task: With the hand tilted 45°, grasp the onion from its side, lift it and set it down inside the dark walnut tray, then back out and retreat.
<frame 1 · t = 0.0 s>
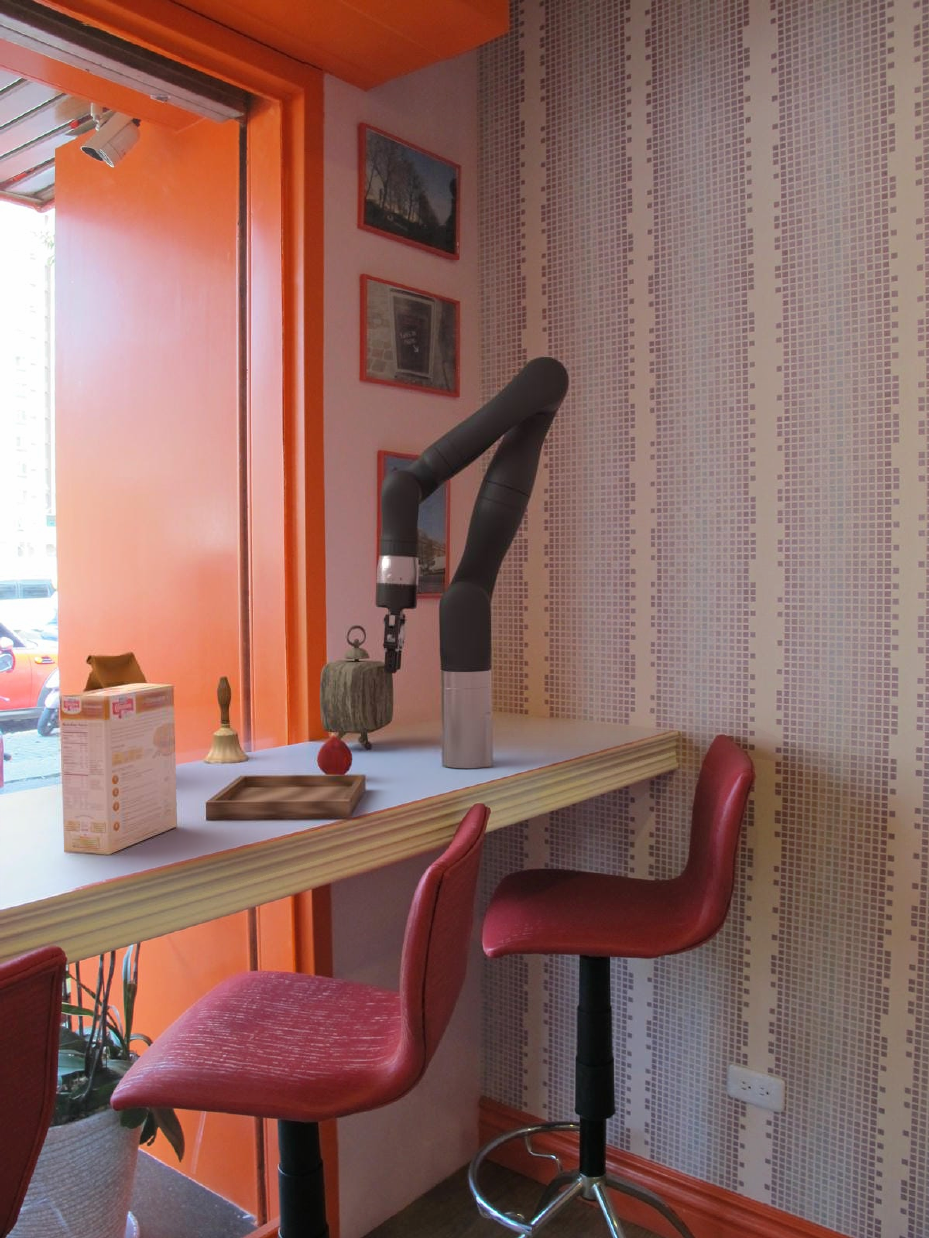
hand: (392, 671, 178), 17 cm above the bar counter, tool pointing down, fingers open, 8 cm apart
tabletop clock: (359, 749, 198), on the bar counter
walnut tray: (291, 803, 146), on the bar counter
onion: (335, 781, 164), on the bar counter
hand bell: (226, 761, 187), on the bar counter
coffee package: (113, 785, 164), on the bar counter
coffeecake box: (123, 840, 127), on the bar counter
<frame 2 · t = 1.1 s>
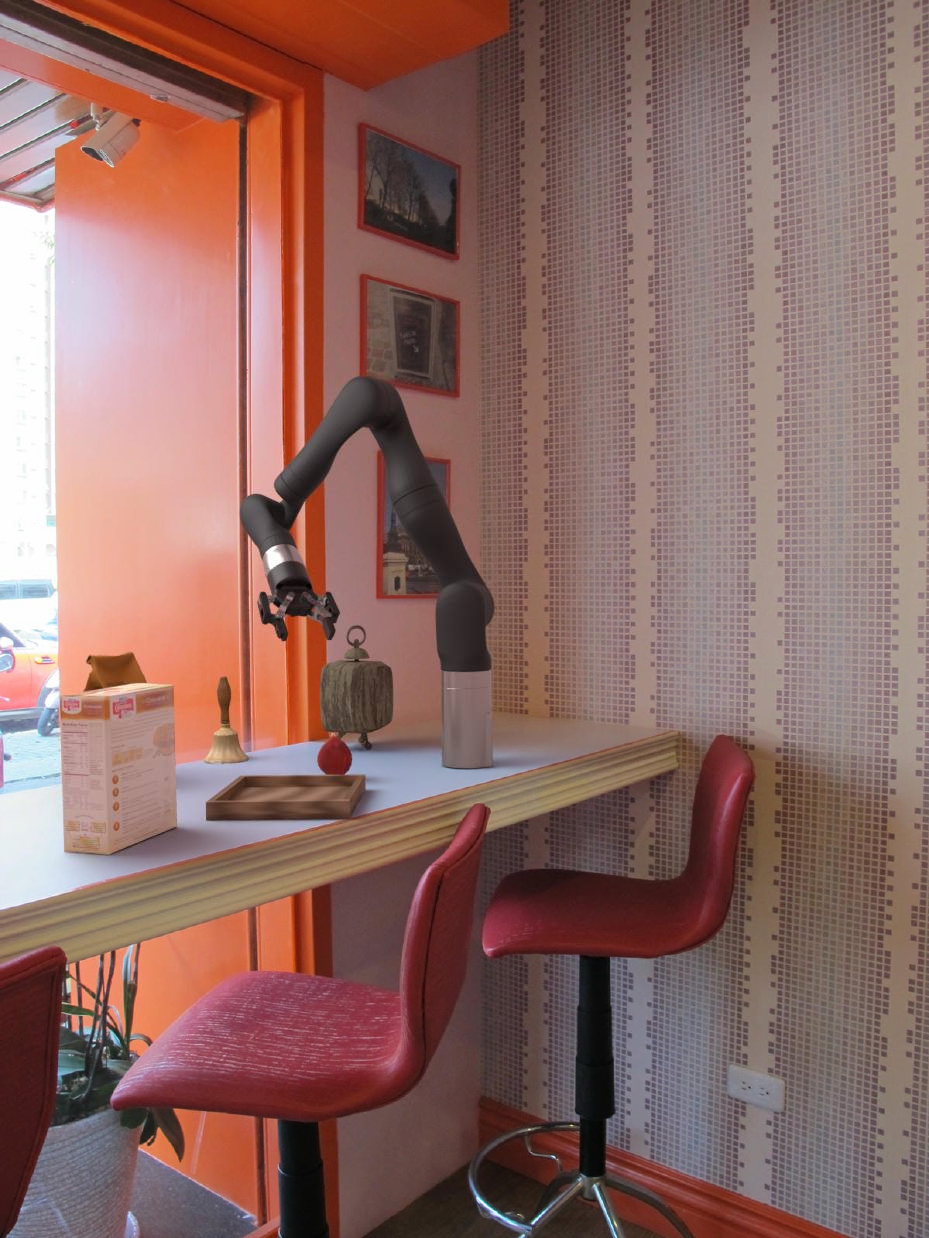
hand: (308, 637, 174), 24 cm above the bar counter, tool tilted 45°, fingers open, 8 cm apart
nothing on the bar counter moved.
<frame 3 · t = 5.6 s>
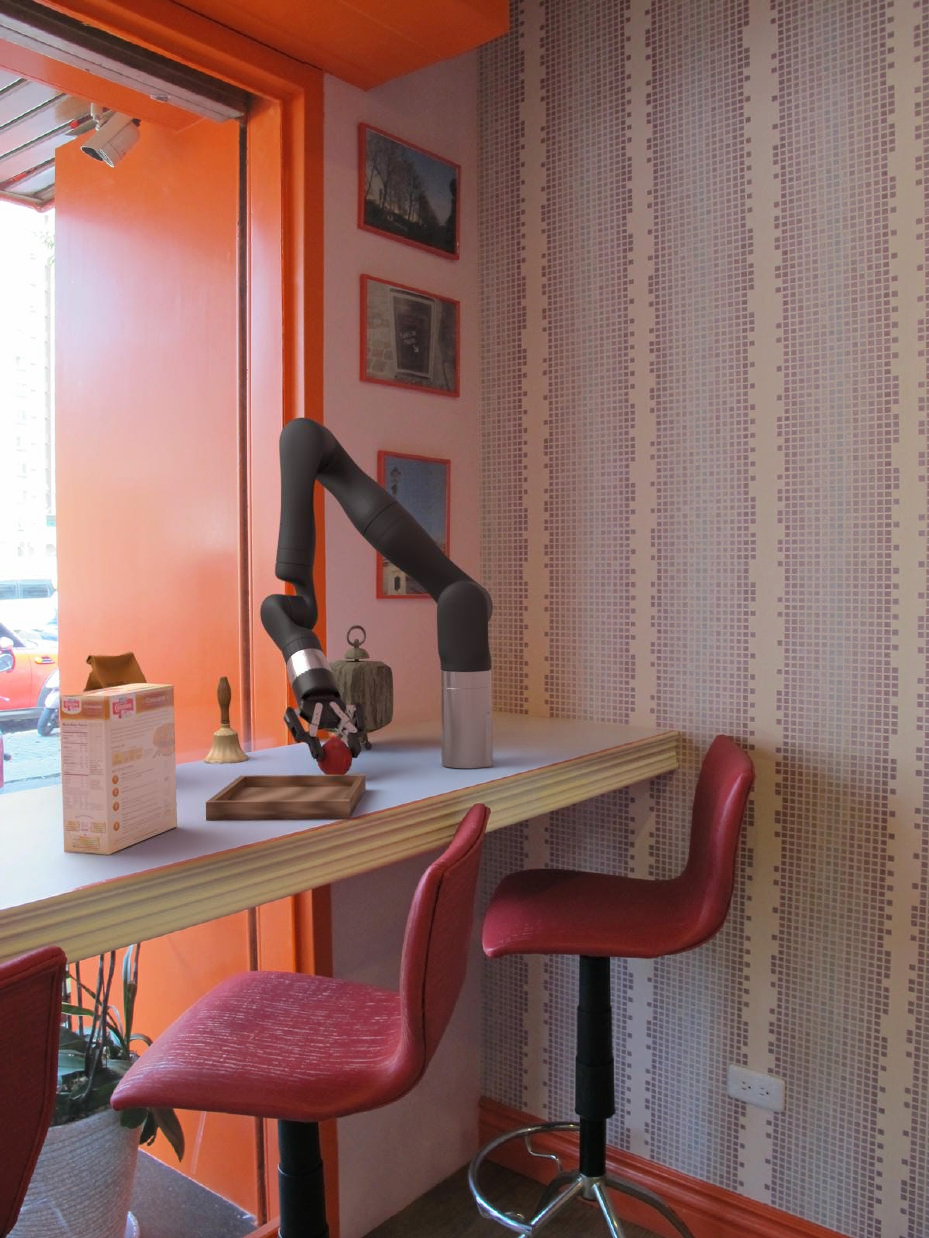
hand: (338, 756, 163), 4 cm above the bar counter, tool tilted 45°, fingers closed on onion, 5 cm apart
onion: (335, 781, 164), on the bar counter, touching gripper
everything else where it was.
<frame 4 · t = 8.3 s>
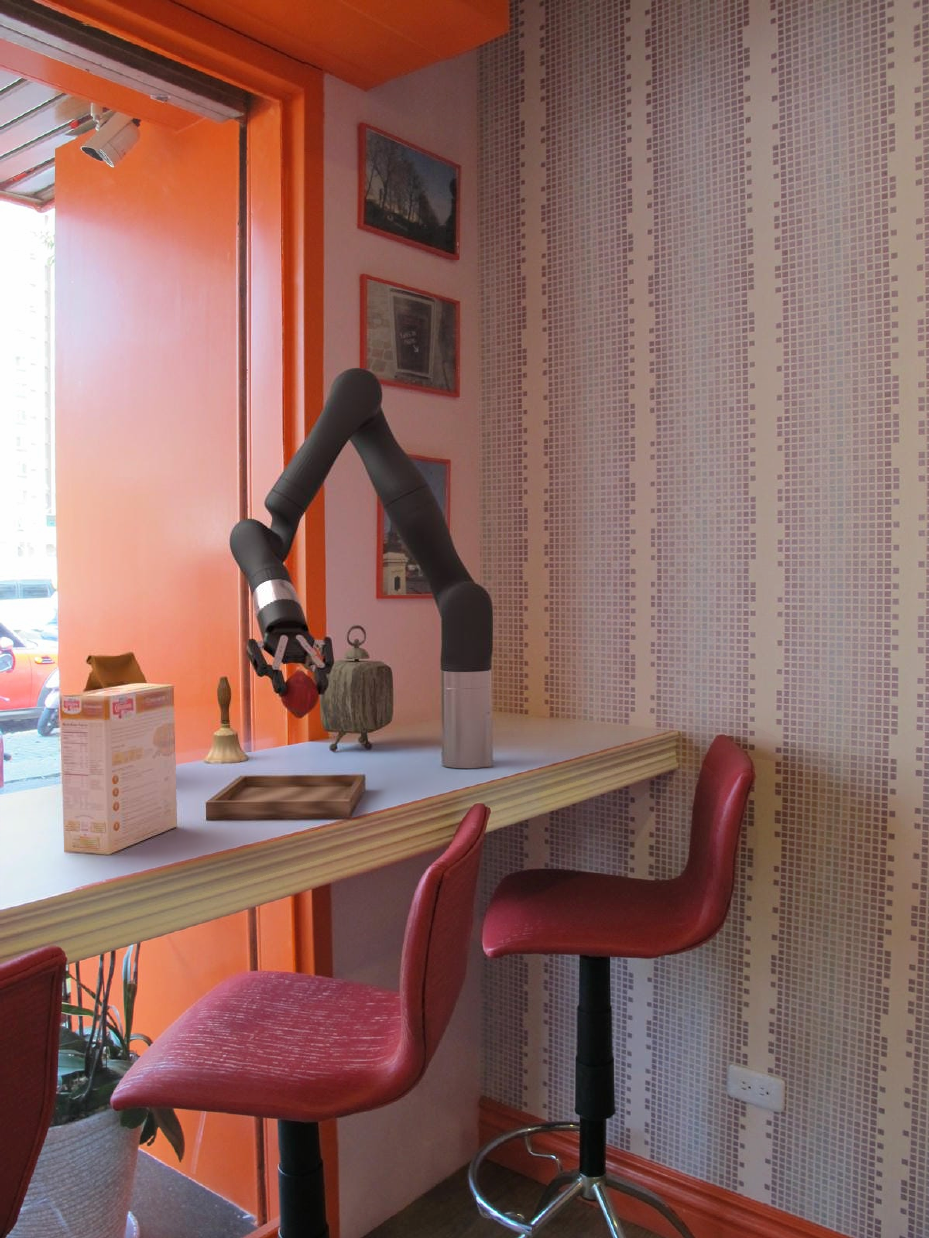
hand: (303, 691, 151), 16 cm above the bar counter, tool tilted 45°, fingers closed on onion, 5 cm apart
onion: (299, 719, 152), point 12 cm above the bar counter, touching gripper
everything else where it was.
when the fingers open (7 cm above the bar counter, at t = 11.1 s): onion drops 1 cm, resting on walnut tray.
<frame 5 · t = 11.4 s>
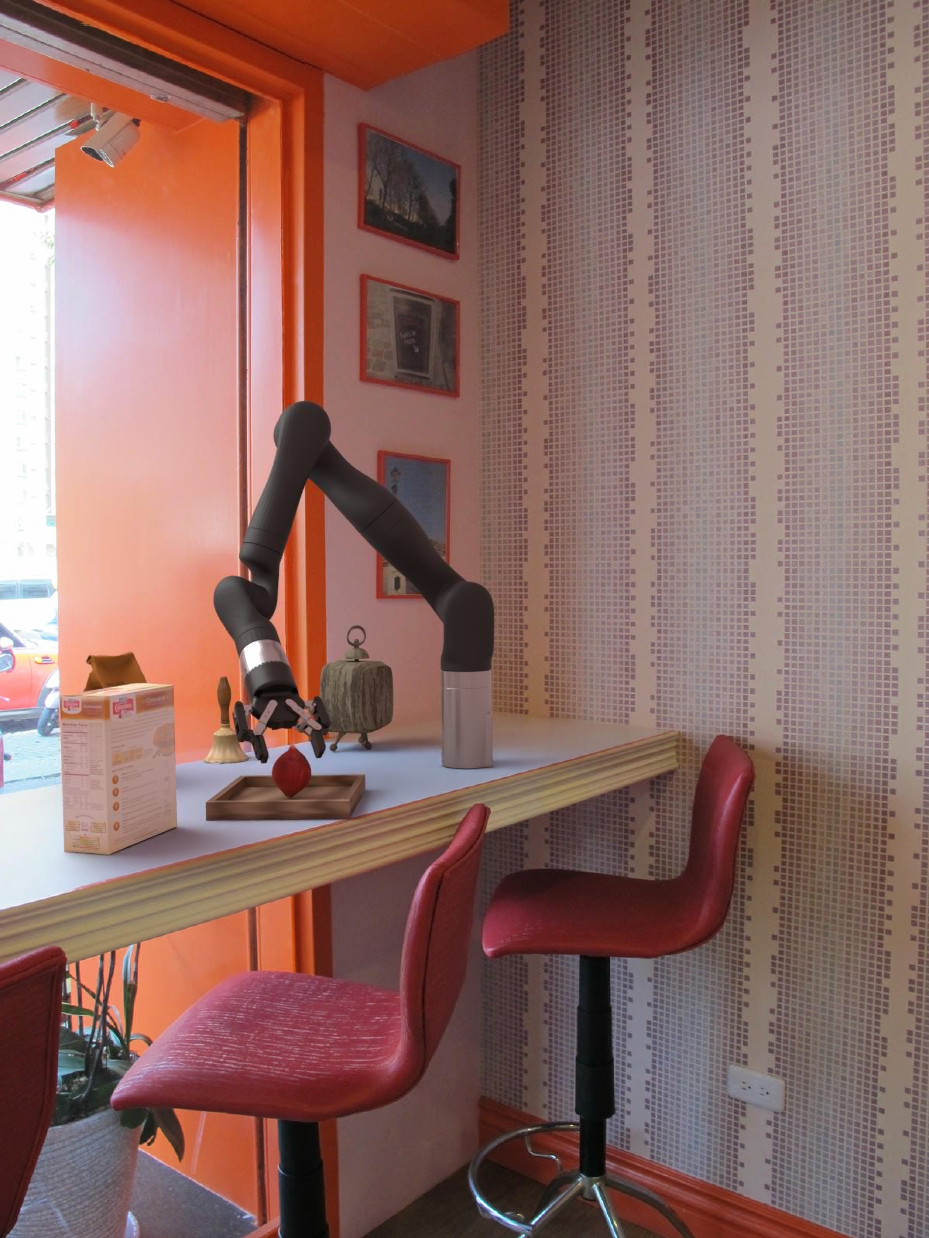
hand: (293, 757, 145), 7 cm above the bar counter, tool tilted 45°, fingers open, 8 cm apart
onion: (290, 798, 147), point 1 cm above the bar counter, touching walnut tray
everything else where it was.
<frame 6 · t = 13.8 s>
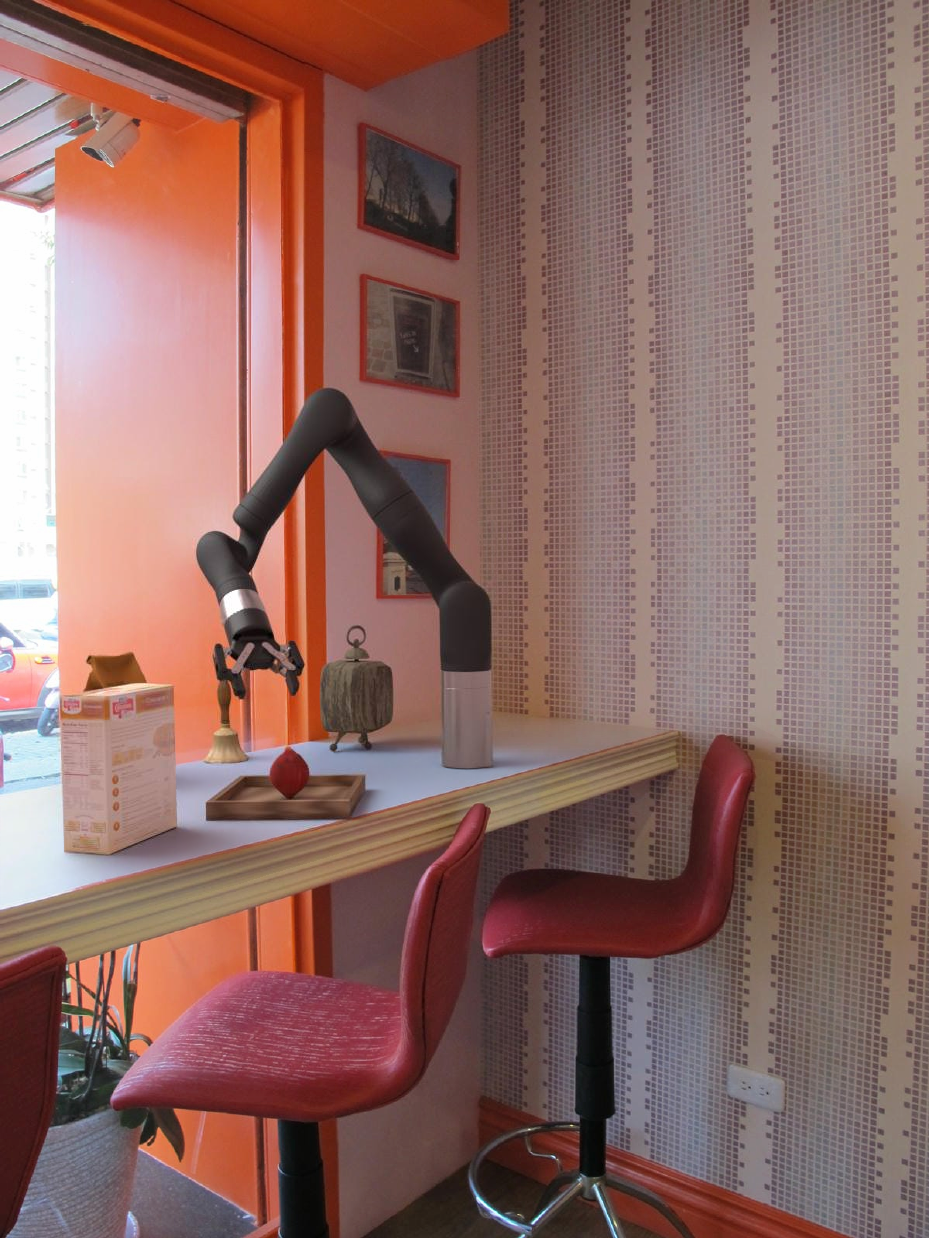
hand: (269, 694, 157), 15 cm above the bar counter, tool tilted 45°, fingers open, 8 cm apart
nothing on the bar counter moved.
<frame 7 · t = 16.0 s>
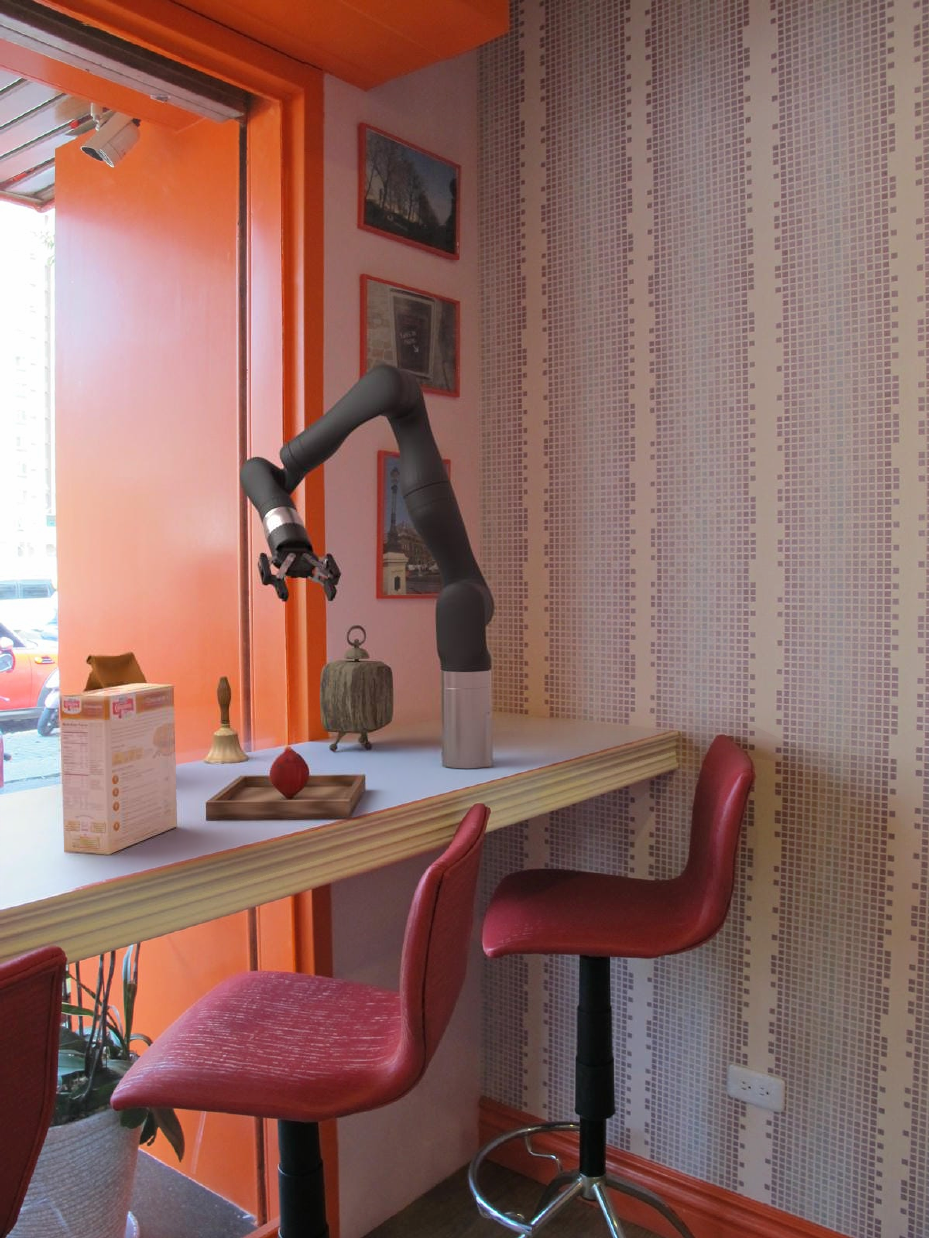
hand: (309, 598, 172), 31 cm above the bar counter, tool tilted 45°, fingers open, 8 cm apart
nothing on the bar counter moved.
at the end: onion inside the target area on the walnut tray (0.2 cm from its centre), point 0.6 cm above the walnut tray's base; the gripper is holding nothing; onion moved 18.4 cm from its start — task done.
